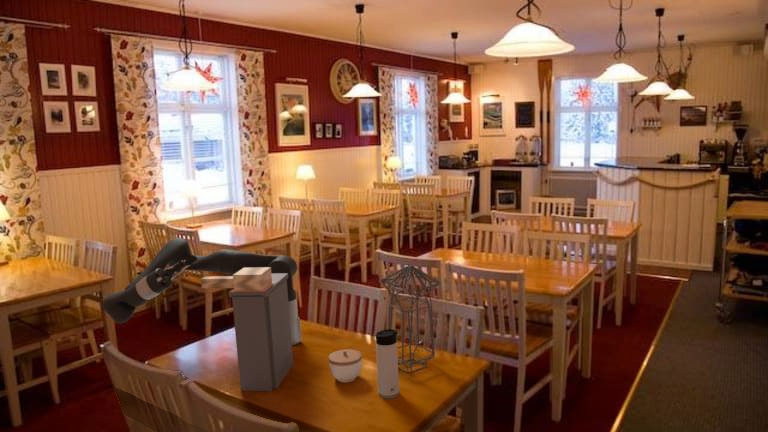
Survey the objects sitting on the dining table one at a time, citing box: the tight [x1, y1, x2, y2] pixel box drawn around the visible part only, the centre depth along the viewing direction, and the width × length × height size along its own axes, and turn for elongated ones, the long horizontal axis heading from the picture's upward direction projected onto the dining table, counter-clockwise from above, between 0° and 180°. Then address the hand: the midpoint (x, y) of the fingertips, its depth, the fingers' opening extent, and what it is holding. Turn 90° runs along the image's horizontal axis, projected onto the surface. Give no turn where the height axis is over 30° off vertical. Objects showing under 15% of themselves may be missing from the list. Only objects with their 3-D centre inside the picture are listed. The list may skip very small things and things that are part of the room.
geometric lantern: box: [378, 264, 441, 374], centre depth 191 cm, size 16×16×35 cm
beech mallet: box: [200, 267, 272, 291], centre depth 182 cm, size 21×9×5 cm, turn 82°
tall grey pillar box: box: [228, 273, 294, 392], centre depth 190 cm, size 12×22×32 cm, turn 172°
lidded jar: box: [328, 349, 363, 383], centre depth 187 cm, size 11×11×9 cm
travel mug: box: [375, 328, 400, 400], centre depth 173 cm, size 6×7×20 cm
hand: (190, 260), depth 194 cm, fingers open, 8 cm apart
